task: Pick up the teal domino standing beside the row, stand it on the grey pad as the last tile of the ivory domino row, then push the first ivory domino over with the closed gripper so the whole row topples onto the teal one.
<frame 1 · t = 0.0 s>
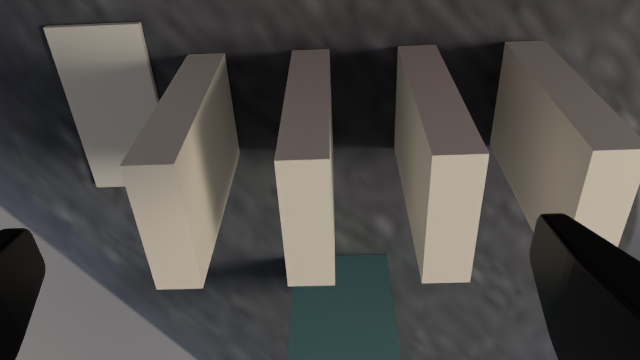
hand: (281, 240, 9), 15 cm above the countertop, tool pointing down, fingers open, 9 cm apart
domino 1: (514, 95, 24), on the countertop
domino 2: (413, 99, 24), on the countertop
domino 3: (313, 103, 24), on the countertop
domino 4: (215, 106, 24), on the countertop
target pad: (117, 110, 24), on the countertop
end domino: (341, 266, 30), on the countertop
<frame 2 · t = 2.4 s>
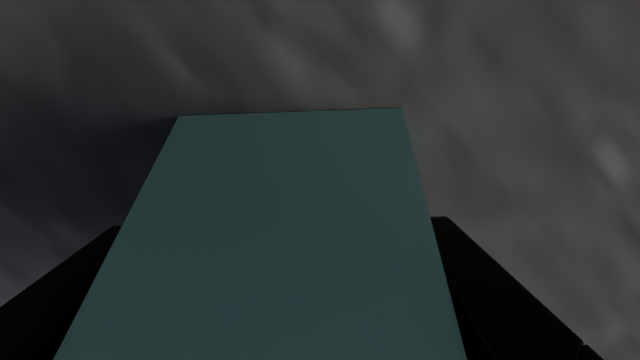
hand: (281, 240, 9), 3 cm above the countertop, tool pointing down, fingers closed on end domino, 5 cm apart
end domino: (292, 143, 12), on the countertop, touching gripper
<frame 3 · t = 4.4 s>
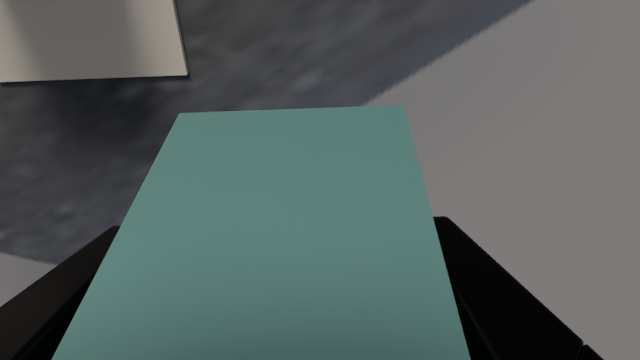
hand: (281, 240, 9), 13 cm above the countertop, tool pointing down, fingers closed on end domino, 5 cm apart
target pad: (78, 27, 21), on the countertop
end domino: (293, 140, 12), point 10 cm above the countertop, touching gripper
when the fingers open (5 cm above the countertop, at t = 6.9 s): end domino stays where it is, resting on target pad.
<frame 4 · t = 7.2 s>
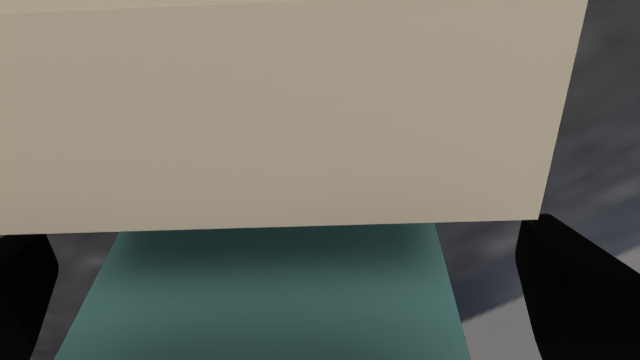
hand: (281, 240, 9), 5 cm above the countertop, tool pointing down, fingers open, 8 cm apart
end domino: (295, 122, 13), resting on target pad
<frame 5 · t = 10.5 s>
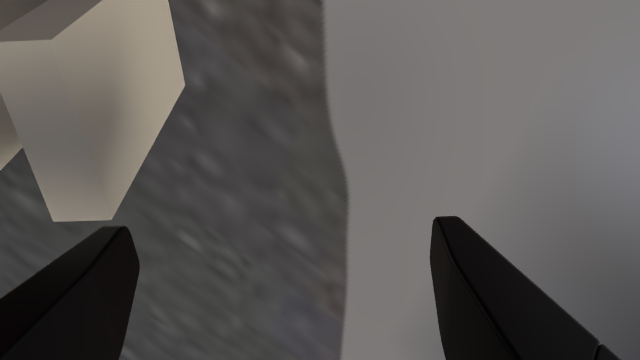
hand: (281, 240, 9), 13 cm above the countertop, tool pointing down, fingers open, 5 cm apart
domino 1: (152, 25, 21), on the countertop
domino 2: (38, 30, 21), on the countertop
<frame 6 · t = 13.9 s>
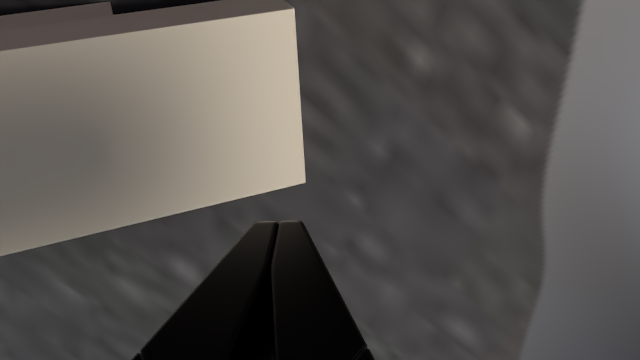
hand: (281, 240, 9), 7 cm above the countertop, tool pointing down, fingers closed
domino 1: (291, 92, 15), point 1 cm above the countertop, tilted 69°, touching domino 2
domino 2: (134, 99, 15), point 1 cm above the countertop, tilted 69°, touching domino 1, domino 3
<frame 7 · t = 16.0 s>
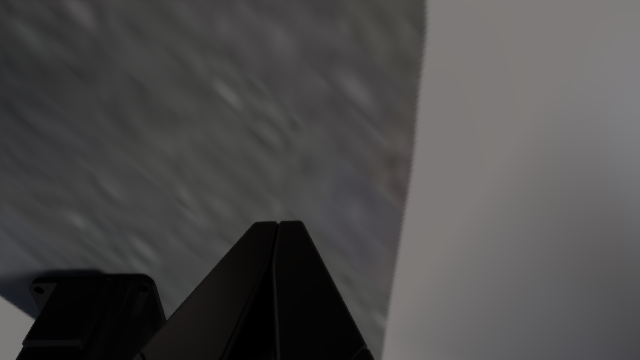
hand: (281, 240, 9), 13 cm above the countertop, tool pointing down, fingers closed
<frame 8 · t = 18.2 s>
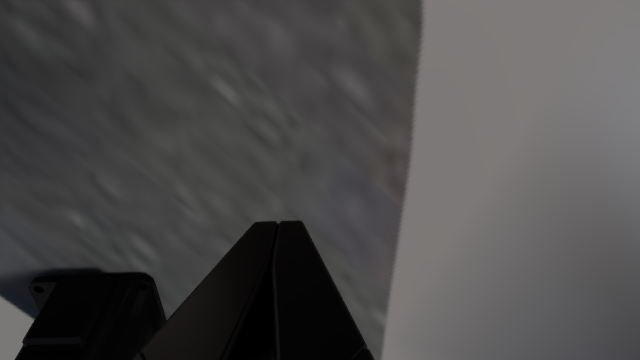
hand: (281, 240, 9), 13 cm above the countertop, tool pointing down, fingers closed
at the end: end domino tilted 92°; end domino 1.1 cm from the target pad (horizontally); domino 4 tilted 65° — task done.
